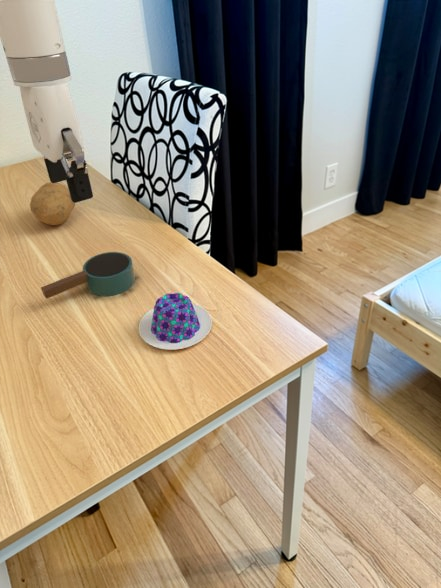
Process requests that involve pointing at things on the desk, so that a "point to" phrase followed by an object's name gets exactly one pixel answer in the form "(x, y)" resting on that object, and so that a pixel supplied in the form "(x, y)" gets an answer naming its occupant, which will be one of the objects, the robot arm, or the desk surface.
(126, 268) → the pan
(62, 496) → the desk surface
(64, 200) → the potato
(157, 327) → the pudding
